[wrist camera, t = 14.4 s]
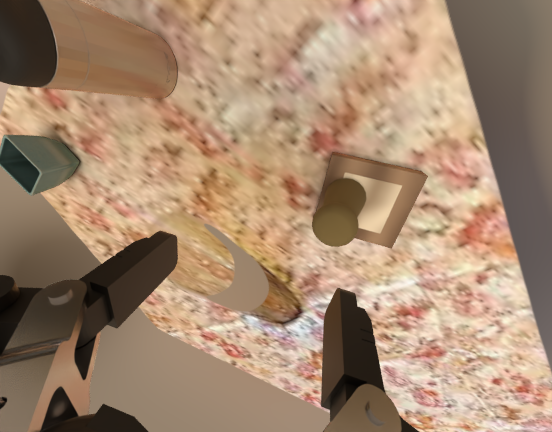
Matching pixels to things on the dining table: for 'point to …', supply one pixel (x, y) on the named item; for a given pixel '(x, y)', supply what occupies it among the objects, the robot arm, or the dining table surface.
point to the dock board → (378, 195)
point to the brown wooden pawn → (339, 212)
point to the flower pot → (36, 162)
